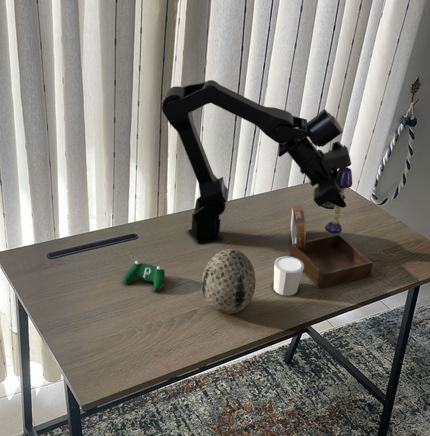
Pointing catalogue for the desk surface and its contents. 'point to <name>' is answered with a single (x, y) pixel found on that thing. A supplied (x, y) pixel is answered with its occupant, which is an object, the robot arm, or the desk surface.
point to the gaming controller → (145, 274)
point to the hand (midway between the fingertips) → (344, 202)
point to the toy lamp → (345, 182)
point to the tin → (298, 227)
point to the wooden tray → (332, 260)
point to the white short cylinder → (287, 275)
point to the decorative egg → (228, 281)
